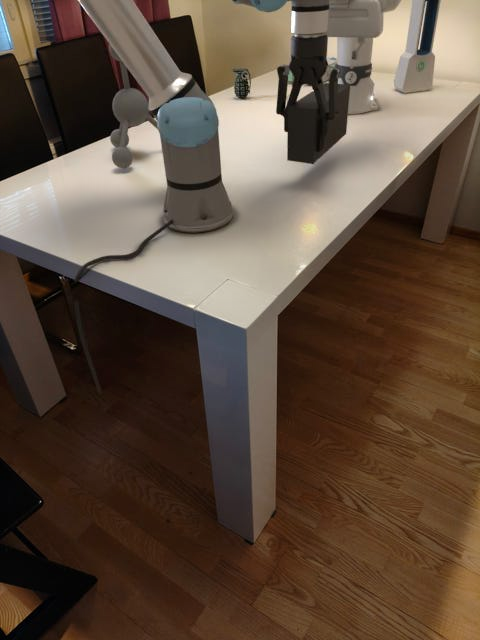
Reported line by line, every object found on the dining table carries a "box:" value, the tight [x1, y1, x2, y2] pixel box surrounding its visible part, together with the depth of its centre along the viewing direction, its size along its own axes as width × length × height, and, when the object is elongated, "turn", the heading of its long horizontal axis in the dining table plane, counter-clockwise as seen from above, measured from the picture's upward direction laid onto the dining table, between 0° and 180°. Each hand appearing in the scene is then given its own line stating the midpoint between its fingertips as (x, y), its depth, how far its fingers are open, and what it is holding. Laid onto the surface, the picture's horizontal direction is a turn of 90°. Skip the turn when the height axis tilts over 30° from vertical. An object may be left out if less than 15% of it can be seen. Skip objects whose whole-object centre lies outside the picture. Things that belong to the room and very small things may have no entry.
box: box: [286, 82, 350, 165], centre depth 117 cm, size 23×6×12 cm, turn 152°
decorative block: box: [288, 56, 337, 83], centre depth 205 cm, size 26×6×20 cm
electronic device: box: [393, 0, 442, 94], centre depth 176 cm, size 12×8×30 cm, turn 105°
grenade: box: [231, 68, 252, 100], centre depth 184 cm, size 7×6×10 cm
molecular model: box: [108, 44, 158, 169], centre depth 132 cm, size 24×22×30 cm
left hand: (305, 147), depth 113 cm, fingers closed on box, 6 cm apart
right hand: (336, 58), depth 117 cm, fingers open, 8 cm apart
